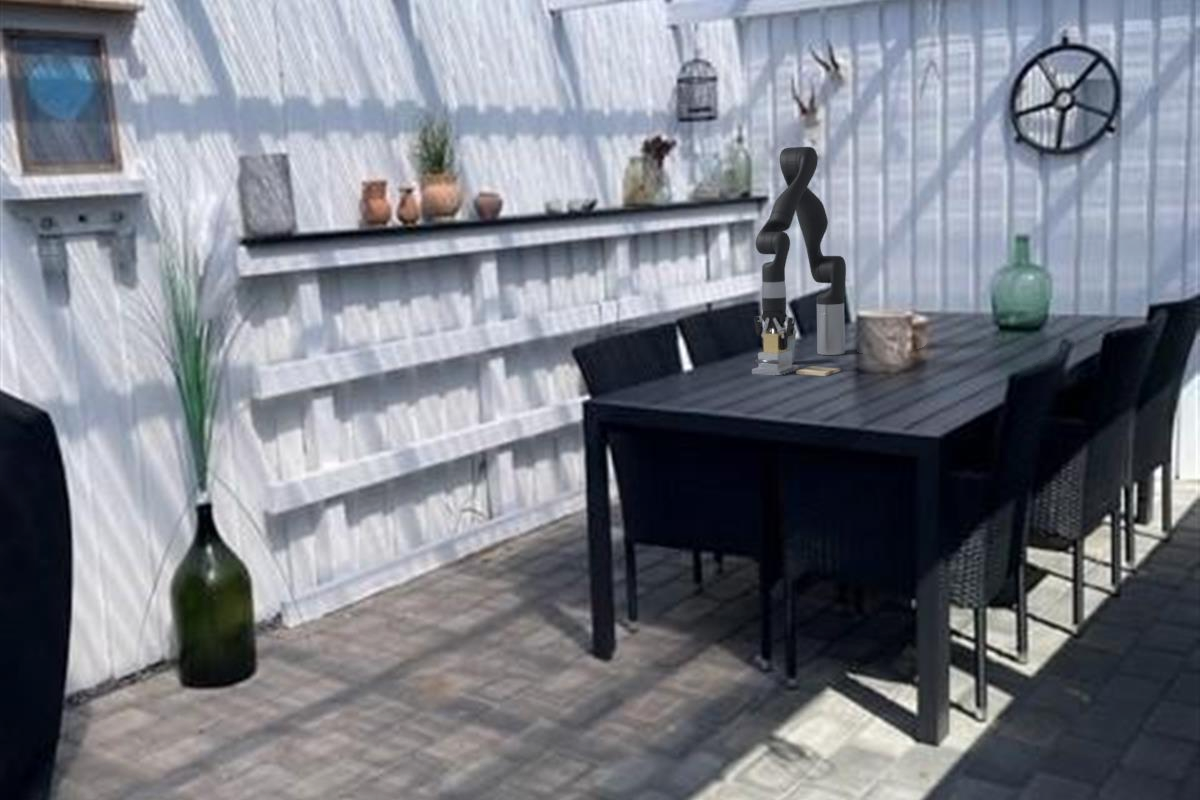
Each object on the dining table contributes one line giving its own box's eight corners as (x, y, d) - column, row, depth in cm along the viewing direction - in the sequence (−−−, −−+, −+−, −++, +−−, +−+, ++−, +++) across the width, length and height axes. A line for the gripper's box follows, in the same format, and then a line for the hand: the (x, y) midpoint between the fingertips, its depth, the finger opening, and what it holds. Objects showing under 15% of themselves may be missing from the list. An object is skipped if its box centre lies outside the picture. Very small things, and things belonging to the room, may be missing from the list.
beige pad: (811, 369, 408) (811, 366, 408) (840, 371, 402) (840, 368, 402) (796, 374, 400) (796, 370, 400) (825, 376, 394) (824, 372, 394)
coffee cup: (789, 366, 416) (788, 329, 414) (766, 364, 421) (765, 328, 419) (802, 362, 423) (801, 326, 421) (779, 360, 428) (778, 325, 426)
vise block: (771, 368, 414) (770, 323, 411) (798, 370, 408) (798, 324, 405) (751, 373, 404) (750, 328, 402) (779, 375, 398) (778, 329, 396)
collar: (772, 350, 409) (771, 331, 407) (786, 350, 405) (786, 332, 404) (763, 352, 405) (763, 333, 403) (778, 353, 401) (777, 334, 400)
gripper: (800, 295, 400) (801, 348, 403) (760, 294, 409) (761, 346, 412) (788, 297, 395) (789, 352, 398) (747, 296, 403) (749, 349, 406)
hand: (775, 349), depth 405 cm, fingers open, 5 cm apart
